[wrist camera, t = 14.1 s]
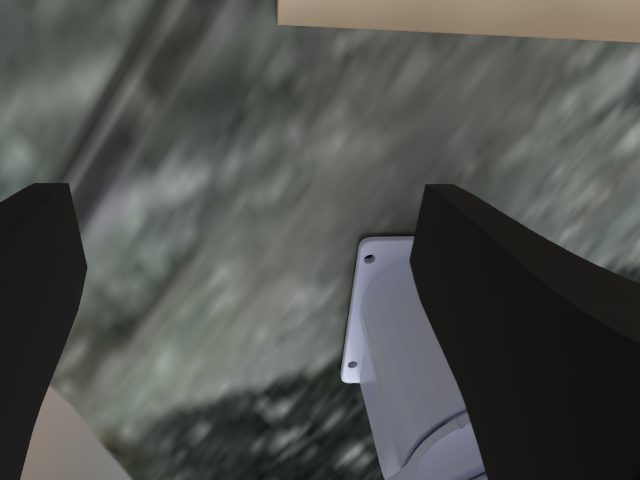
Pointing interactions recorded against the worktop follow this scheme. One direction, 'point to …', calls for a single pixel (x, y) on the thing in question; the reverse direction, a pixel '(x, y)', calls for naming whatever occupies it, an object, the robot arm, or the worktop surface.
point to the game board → (474, 17)
